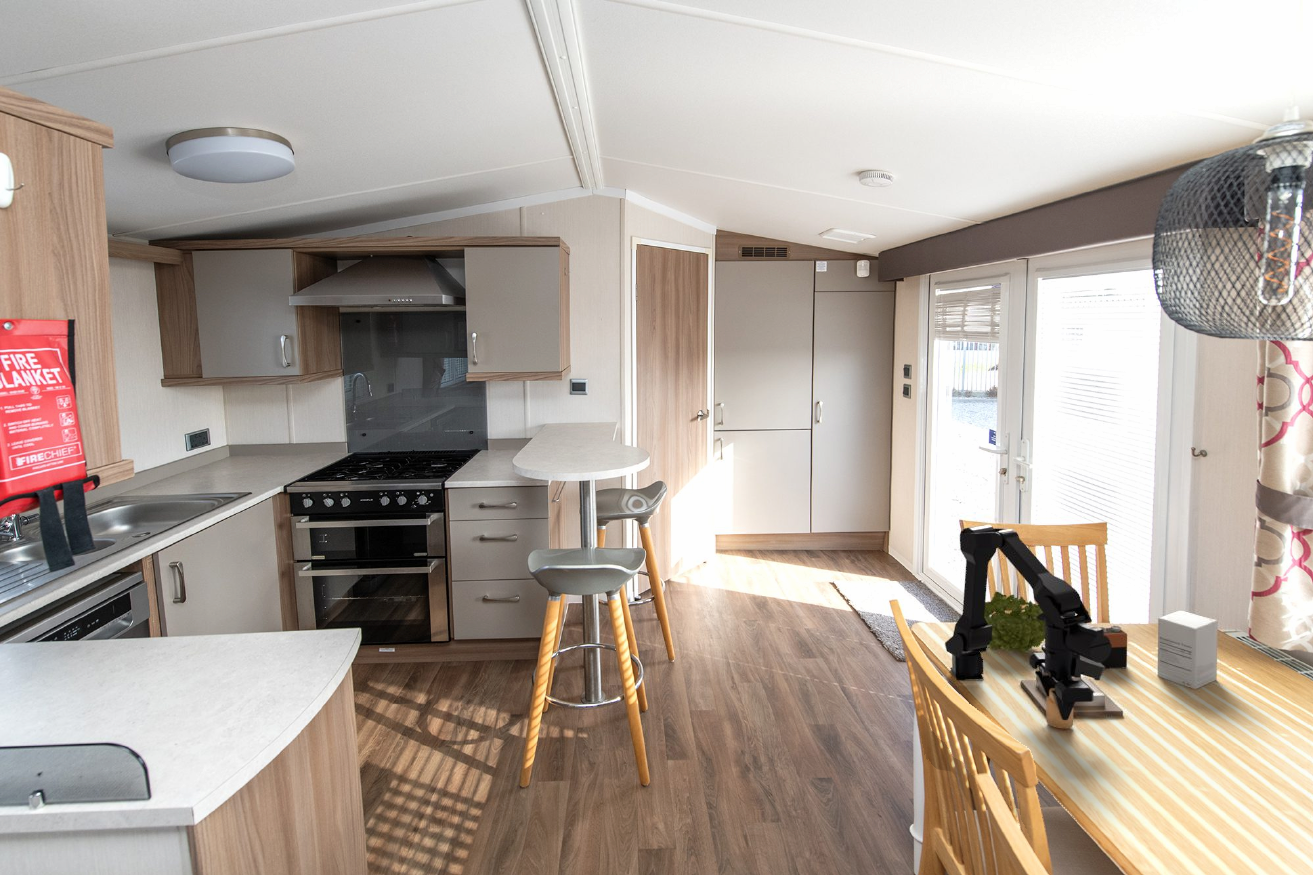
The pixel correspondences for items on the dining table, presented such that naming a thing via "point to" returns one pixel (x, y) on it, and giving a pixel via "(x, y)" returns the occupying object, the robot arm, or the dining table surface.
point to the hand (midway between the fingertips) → (1059, 713)
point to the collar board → (1080, 709)
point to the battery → (1116, 648)
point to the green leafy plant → (1014, 623)
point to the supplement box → (1187, 649)
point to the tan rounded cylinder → (1056, 713)
